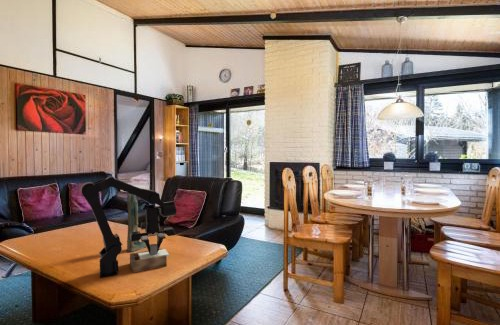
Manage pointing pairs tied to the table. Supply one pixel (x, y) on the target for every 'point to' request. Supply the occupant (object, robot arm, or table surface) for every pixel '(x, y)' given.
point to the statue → (133, 224)
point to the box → (146, 262)
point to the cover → (153, 252)
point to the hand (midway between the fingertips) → (153, 252)
